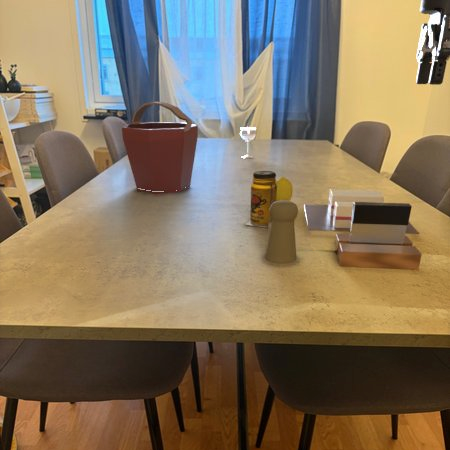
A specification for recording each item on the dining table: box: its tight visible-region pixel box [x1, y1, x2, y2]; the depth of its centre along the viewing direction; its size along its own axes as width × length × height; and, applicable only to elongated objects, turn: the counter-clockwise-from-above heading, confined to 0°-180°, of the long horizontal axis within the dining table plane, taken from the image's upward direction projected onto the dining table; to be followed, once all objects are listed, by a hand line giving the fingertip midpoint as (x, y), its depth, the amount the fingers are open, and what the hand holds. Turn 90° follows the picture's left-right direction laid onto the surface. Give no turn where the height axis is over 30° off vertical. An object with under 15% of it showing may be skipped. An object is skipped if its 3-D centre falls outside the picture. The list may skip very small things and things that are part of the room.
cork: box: [264, 200, 299, 265], centre depth 82 cm, size 6×6×11 cm
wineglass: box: [239, 126, 257, 159], centre depth 188 cm, size 7×7×12 cm
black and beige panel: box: [349, 202, 413, 246], centre depth 82 cm, size 10×2×11 cm, turn 83°
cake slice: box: [333, 202, 354, 228], centre depth 98 cm, size 12×4×5 cm, turn 83°
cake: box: [327, 188, 385, 216], centre depth 107 cm, size 12×7×5 cm, turn 83°
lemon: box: [276, 176, 294, 201], centre depth 116 cm, size 6×6×8 cm
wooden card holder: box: [334, 233, 422, 271], centre depth 83 cm, size 14×10×3 cm
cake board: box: [303, 204, 420, 235], centre depth 105 cm, size 24×22×1 cm
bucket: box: [121, 101, 199, 195], centre depth 132 cm, size 24×22×25 cm
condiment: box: [244, 170, 277, 228], centre depth 102 cm, size 7×8×12 cm
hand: (428, 84), depth 82 cm, fingers open, 8 cm apart
